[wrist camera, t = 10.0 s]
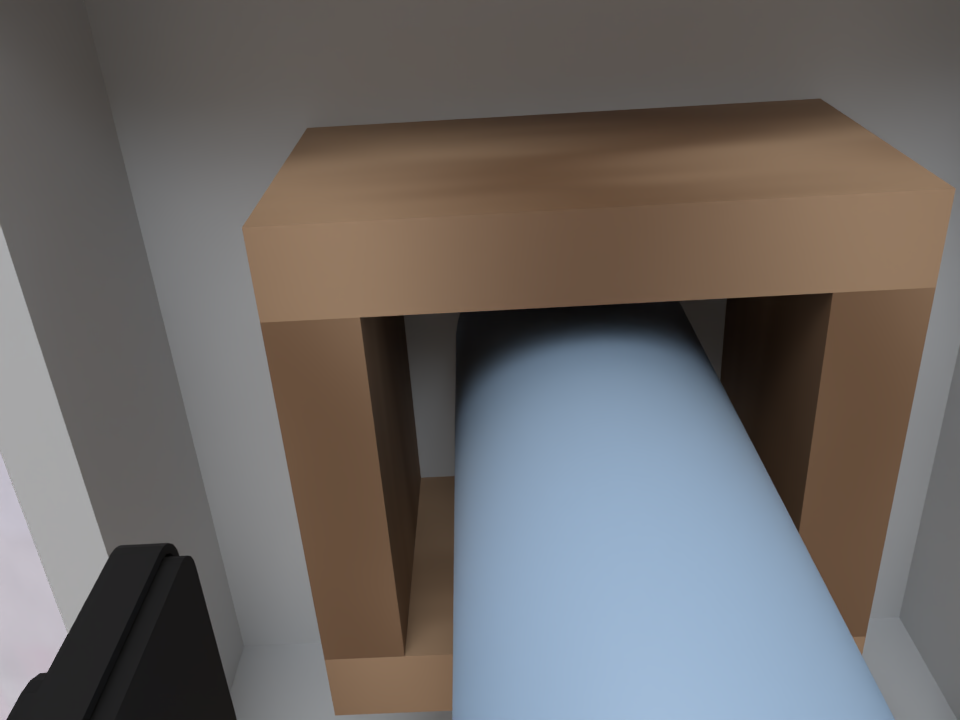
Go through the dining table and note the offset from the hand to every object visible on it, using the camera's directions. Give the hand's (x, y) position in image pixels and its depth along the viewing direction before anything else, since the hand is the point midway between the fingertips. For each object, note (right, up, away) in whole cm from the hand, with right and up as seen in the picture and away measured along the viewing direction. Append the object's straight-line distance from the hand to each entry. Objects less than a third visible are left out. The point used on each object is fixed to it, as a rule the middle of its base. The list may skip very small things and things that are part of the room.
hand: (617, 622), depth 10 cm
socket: (0, +4, +7) cm, 8 cm away
